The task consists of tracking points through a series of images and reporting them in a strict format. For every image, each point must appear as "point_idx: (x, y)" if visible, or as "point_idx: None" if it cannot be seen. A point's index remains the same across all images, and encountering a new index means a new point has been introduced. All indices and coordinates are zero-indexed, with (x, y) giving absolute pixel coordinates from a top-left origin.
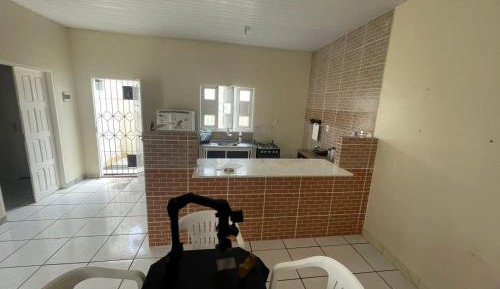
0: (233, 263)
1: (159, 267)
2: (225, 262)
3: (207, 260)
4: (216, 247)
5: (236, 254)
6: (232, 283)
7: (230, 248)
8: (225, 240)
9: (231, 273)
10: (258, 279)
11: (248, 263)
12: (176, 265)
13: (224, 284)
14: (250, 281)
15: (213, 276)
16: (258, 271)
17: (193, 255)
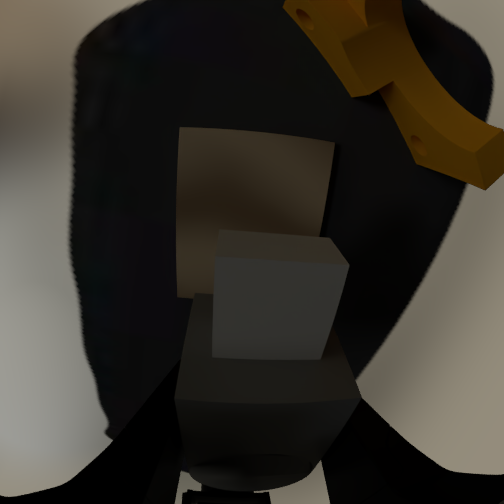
0: (271, 153)
1: (186, 467)
2: (231, 227)
3: (162, 342)
4: (280, 486)
5: (131, 86)
6: (443, 228)
7: (333, 299)
8: None
9: (369, 205)
10: (470, 54)
11: (382, 32)
12: (268, 497)
13: (424, 277)
14: (472, 109)
15: (335, 329)
16: (412, 3)
17: (111, 391)
